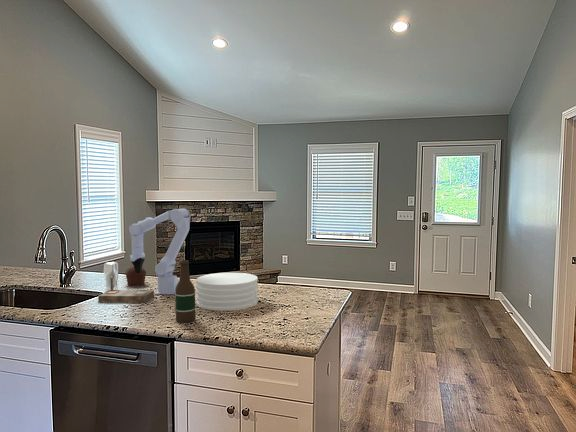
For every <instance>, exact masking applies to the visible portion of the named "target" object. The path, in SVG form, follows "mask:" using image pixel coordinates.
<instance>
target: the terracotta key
mask: <svg viewBox="0 0 576 432" xmlns="http://www.w3.org/2000/svg"><path fill="white" fill-rule="evenodd" d="M116 293H118V291H109V292H107V293H106V294H116Z"/></svg>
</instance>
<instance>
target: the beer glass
mask: <svg viewBox="0 0 576 432" xmlns="http://www.w3.org/2000/svg"><path fill="white" fill-rule="evenodd" d="M103 277H104V282H105V291H104V293H105V292H107V291H109V290H119V289H118V280H119V262H117V261H116V262H114V261H110V262H103Z"/></svg>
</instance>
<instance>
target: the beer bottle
mask: <svg viewBox="0 0 576 432" xmlns="http://www.w3.org/2000/svg"><path fill="white" fill-rule="evenodd" d="M189 264H190V261H189V260H188V259H187V260H186V259H184V260H183V259H182V260H180V261H179V265H180V268H179V270H180V271H179V280H178V284H177V286H176V289H175V294H174V299H175V300H174V302H175V307H174V308H175V311H174V312H175V313H174V315H175V321H176V322H177V323H178V324H187V323H192V322H194V321H195V320H196V290H195V286H194V283H193V282H192V281H191V278H190V277H191V276H190V266H189Z"/></svg>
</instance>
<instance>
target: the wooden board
mask: <svg viewBox="0 0 576 432" xmlns="http://www.w3.org/2000/svg"><path fill="white" fill-rule="evenodd" d="M109 291H118V293H116V294H106V293H107V292H109ZM109 291H107V292H105V291H104V292H103V293H101V294H99V295H98V297H97V298H98V302H97V303H140V304H141V303H146V302H148V301H149V300H152V299H153V298H154V297H155V290H154V289H153V290H152V289H151V290H150V289H145V290H143V289H142V290H141V289H140V290H139V289H137V290H135V289H118V290H109ZM138 291H147V293H145V294H135V293H137V292H138Z"/></svg>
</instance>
